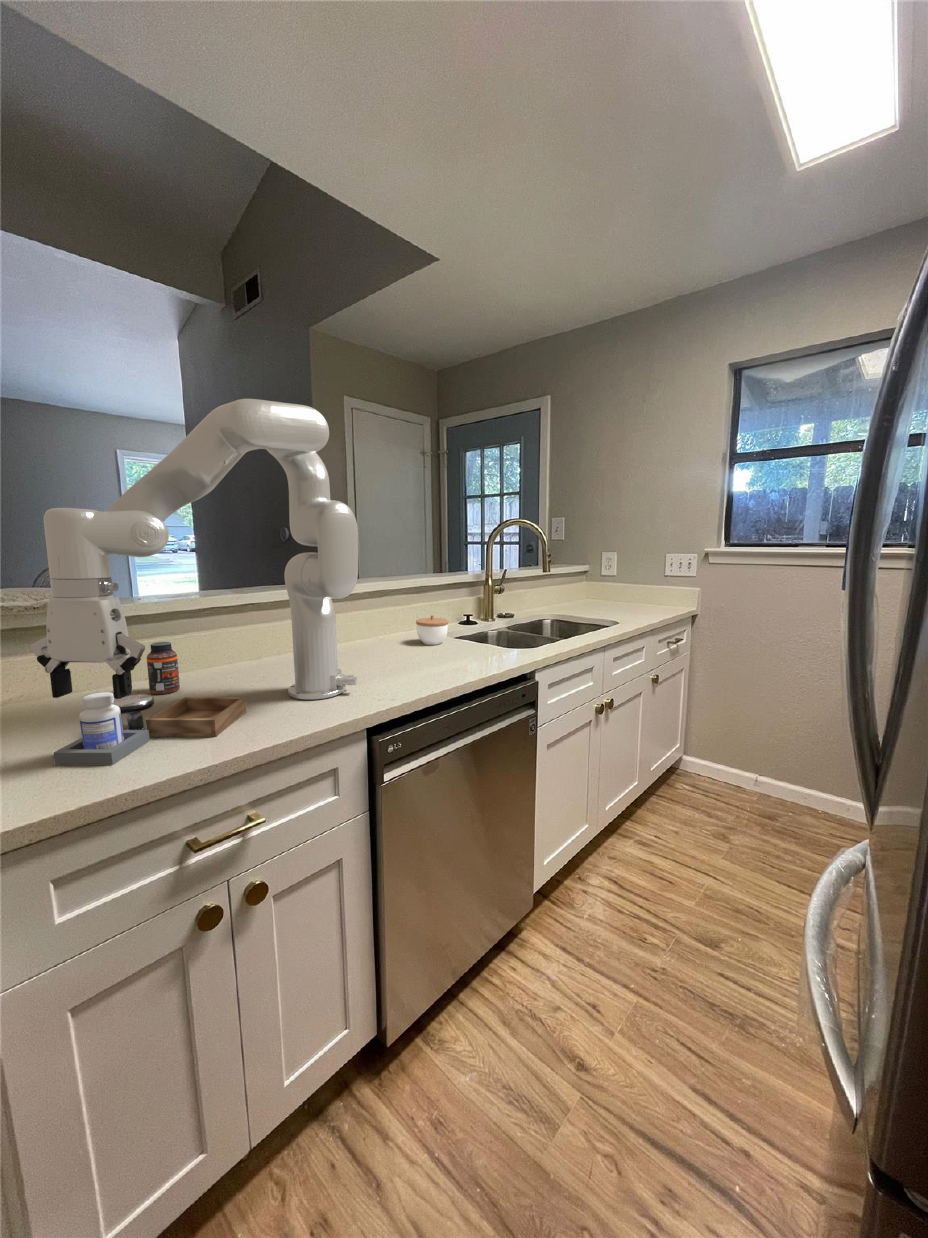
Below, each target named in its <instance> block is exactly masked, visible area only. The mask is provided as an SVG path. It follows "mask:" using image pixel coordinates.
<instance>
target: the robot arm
mask: <svg viewBox="0 0 928 1238" xmlns="http://www.w3.org/2000/svg"><path fill="white" fill-rule="evenodd" d="M329 428H330V427H329V424H328V422H327V420H326V418H325V416H323V414H322V413H321V412H320V411H319V410H318V409H315V408H314V407H311V406H308V405H306V404H305V405H304V404H297V403H290V402H289V403H288V402H282V401H274V400H272V401H271V400H267V399H266V400H265V399H258V398H257V399H255V398H241V399H237V400H233V401H230V402H228V403H224V404H221V405H219V406H217V407H216V408H214V409H212V410H211V411H210V412H209V413H207V414H206V416H205V417H204V418H203V419H202V420H201V421H200V422H199V423H198V424H197V425H196V426H194V428H193V429H192V430H191V431H190V432H189V433H188V434H187V435H186V436H185V437H184V438H183V439H182V440H181V441H180V443H178V444H177V445H176V447H174V448H173V449H172V450H171V451H170V452H169V453H168V454H167V455H165V457H164V458H163V459H161V460H160V461H159V462H158V463H157V464H156V465H155V466H153V467H152V468H151V469H150V470H149V471H148V472H147V473H146V474H145V475H143V476H142V477H141V478H139V479H138V480H137V481H136V482H135V483H133V484H132V485H131V486H130V487H129V488H128V489H127V490H126V491H125V492H124V493H122V494H121V495H120V497H119V498H118V499H116V500H115V502H114V503H113V504H112V505H110V507H109V508H108V509H107V510H106V511H99V510H96V509H89V508H78V507H76V508H74V507H53V508H49V509H47V510H46V511H45V513H44V515H43V528H44V536H45V545H46V554H47V563H48V574H49V583H50V594H51V598H49V600H48V603H47V610H46V611H47V612H46V625H45V627H46V628H45V629H46V636H45V637H42V638H41V639H39V640H37V641H34V642H33V643H31V644H30V650H31V651H32V653H33V654H34V656H35V657H36V661H37V662H38V664H40V665H41V666H42V667H43V669H44V672H45V673H47V674H49V680H50V687H51V696H52V698H54V699H58V698H61V697H64V696H66V695H68V694H71V693H72V692H73V685H72V675H71V674H72V673H71V669H70V668H67V667H68V665H69V664H70V663H92V664H94V663H98V664H99V663H100V664H102V663H103V664H104V663H106V664H107V665H108V666H109V667H110V669H112V670H113V671H114V673H115V674H112V677H111V679H112V680H111V682H112V689H113V690H112V693H113V696H114V700H117V699H121V698H123V697H126V696H131V695H132V693H133V692H132V690H133V689H132V688H133V683H132V673H131V672H132V671H134V669H135V668H136V666H138V664H139V663H140V662H141V660H142V657H143V654H144V652H145V650H146V645H145V644H143V643H141V642H139V641H137V640H135V639H133V638H131V637H130V636H129V630H128V626H127V625H128V624H127V621H126V616H125V613H124V610H123V607H122V603H121V601H120V598H119V597H114V595H113V594H114V592H117V591H119V588H120V587H119V584H118V583H117V582H113V578H112V570H111V561H110V560H111V558H110V555H117V556H124V557H132V558H133V557H134V558H147V557H151V556H154V555H156V554H159V553H160V552H161V551H163V550H164V549H165V547H166V546H167V545H168V543H169V537H170V535H169V529H168V527H167V525H166V523H165V521H166V520H167V519H168V518H169V517H170V516H172V515H173V514H175V512H177V511H179V510H180V509H181V508H183V507H185V506H187V505H189V504H191V503H194V502H196V501H198V500H200V499H202V498H203V497H204V496H207V495H208V494H209V493H211V492H212V491H213V490H214V489H215V488H216V487H217V486H218V485H219V483H220V482H221V481H222V480H223V479H224V477H226V475H227V474H228V473H229V472H230V471H231V470H232V468H233V467H234V466H235V465H236V464H237V463H238V462H240V459H241V458H243V456H244V455H245V454H246V453H248V452H251V451H254V450H266V451H267V452H268V453H269V454H270V455H271V456H272V457H274V459H275V460H276V461H277V462H278V463H279V464H280V466H281V467H282V469H283V470H284V472H285V474H286V478H287V483H288V502H289V503H288V508H289V510H288V511H289V513H288V515H289V530H290V534H291V537H292V538H293V539H294V541H296V542H297V544H300V545H302V546H308V547H317V552H301V553H298V554H296V555H295V556H293V557H291V558H290V560H288V562H287V564H286V565H285V569H284V584H285V587H286V591H287V592H286V593H287V595H288V600H289V606H290V619H291V637H292V651H293V652H292V653H293V669H294V670H293V671H294V684H291V685H290V686H289V687H288V688H287V693H288V695H289V696H290V697H291V698H293V699H298V700H307V701H308V700H309V701H310V700H313V701H314V700H321V699H322V700H323V699H328V698H332V697H336V696H338V695H340V694H343V693H344V692H345V691H346V686H357V683H358V678H357V676H354V674H346V675H345V674H344V673H342V668H339V665H338V662H339V661H338V643H337V639H338V638H337V616H336V610H335V605H334V603H333V600H334V599H335V600H341V599H344V598H346V597H348V596H349V595H351V594H352V592H353V591H354V590H355V588H356V585H357V582H358V577H359V576H358V575H359V529H358V522H357V518H356V517H355V514H354V512H353V510H352V509H351V508H350V507H349V506H348V505H347V504H345V503H344V502H342V501H339V500H334V499H331V488H330V487H331V486H330V485H331V484H330V477H329V473H328V470H327V468H326V465H325V463H324V462H323V460H322V458H321V457H320V455H318V453H317V452H319V451H321V450H322V449H323V448H324V447H326V445H327V444H328V441H329V438H330V429H329ZM128 655H129V656H128ZM127 656H128V657H127Z"/></svg>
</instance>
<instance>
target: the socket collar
mask: <svg viewBox="0 0 928 1238" xmlns="http://www.w3.org/2000/svg"><path fill="white" fill-rule="evenodd" d="M123 736H124V741H122V742H121V743H119V744H117V745H116V746H114V747H112V748H111V749H83V741H82V737H80V738H78V739H77V740H75V741H73V742H70V743H69V744H67V745H65V746H63V747H61V748H60V749H57V750H55V751H54V752H53V759H54V765H57V766H59V765H60V766H62V765H64V766H67V765H69V766H71V765H72V766H73V765H76V766H78V765H81V766H83V765H84V766H85V765H86V766H90V765H91V766H96V765H97V766H100V765H101V766H103V765H104V766H105V765H106V766H109V765H110V766H113V765H115V764H116V763H118V762H120V761H121V760H123V759H124V758H126V757H127V756H128V755H130V754H132V753H133V752H135V751H137V750H138V749H139V748H141V747H142V746H144V745H145V744H147V743H148V742H151V741H150V736H149V730H147V729H141V730H128V729H123Z"/></svg>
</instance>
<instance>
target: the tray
mask: <svg viewBox="0 0 928 1238" xmlns="http://www.w3.org/2000/svg"><path fill="white" fill-rule="evenodd" d="M246 703H247V702H246V697H226V696H225V697H218V696H217V697H214V696H213V697H212V696H211V697H208V696H206V697H201V696H200V697H196V696H195V697H194V696H193V697H192V696H190V697H189V696H188V697H186V696H185V697H183V698H181V699H180V700H177V701H176V702H174V703H173V704H170V705H169V706H168V707H166V708H164V709H162V710H161V711H159V712H157V713H155V714H153V715H152V716H149V717H148V718H146V719H145V725H146V730H149V737H182V738H184V737H186V738H188V737H194V738H195V737H197V738H198V737H200V738H204V737H207V738H208V737H212V738H213V737H217V736H219V735H220V734H222V733H223V732H224V731H225V730H227V729H228V727H230V726H231V725H232V724H234V723H235V722H236V721H238V720H239V719H240V718H241V717H243V716H244V715H245V714H246V713H247V704H246Z"/></svg>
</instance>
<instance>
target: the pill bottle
mask: <svg viewBox="0 0 928 1238" xmlns="http://www.w3.org/2000/svg"><path fill="white" fill-rule="evenodd" d="M114 701H115V698H114V692H108V691H106V692H105V691H104V692H103V691H101V692H96V693H92V694H88V695H85V696H83V697H82V706H83V708H85V709H83V710H81V711H80V713H79V716H78V718H79V724H80V725H79V726H80V732H81V738H82V741H83V749H111V748H112V747H114V746H116V745H117V744H119V743H121V742H122V741H124V736H123V730H124V729H123V721H122V714H121V712H120V708H119V707H118V706H117V705H113V702H114Z"/></svg>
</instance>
